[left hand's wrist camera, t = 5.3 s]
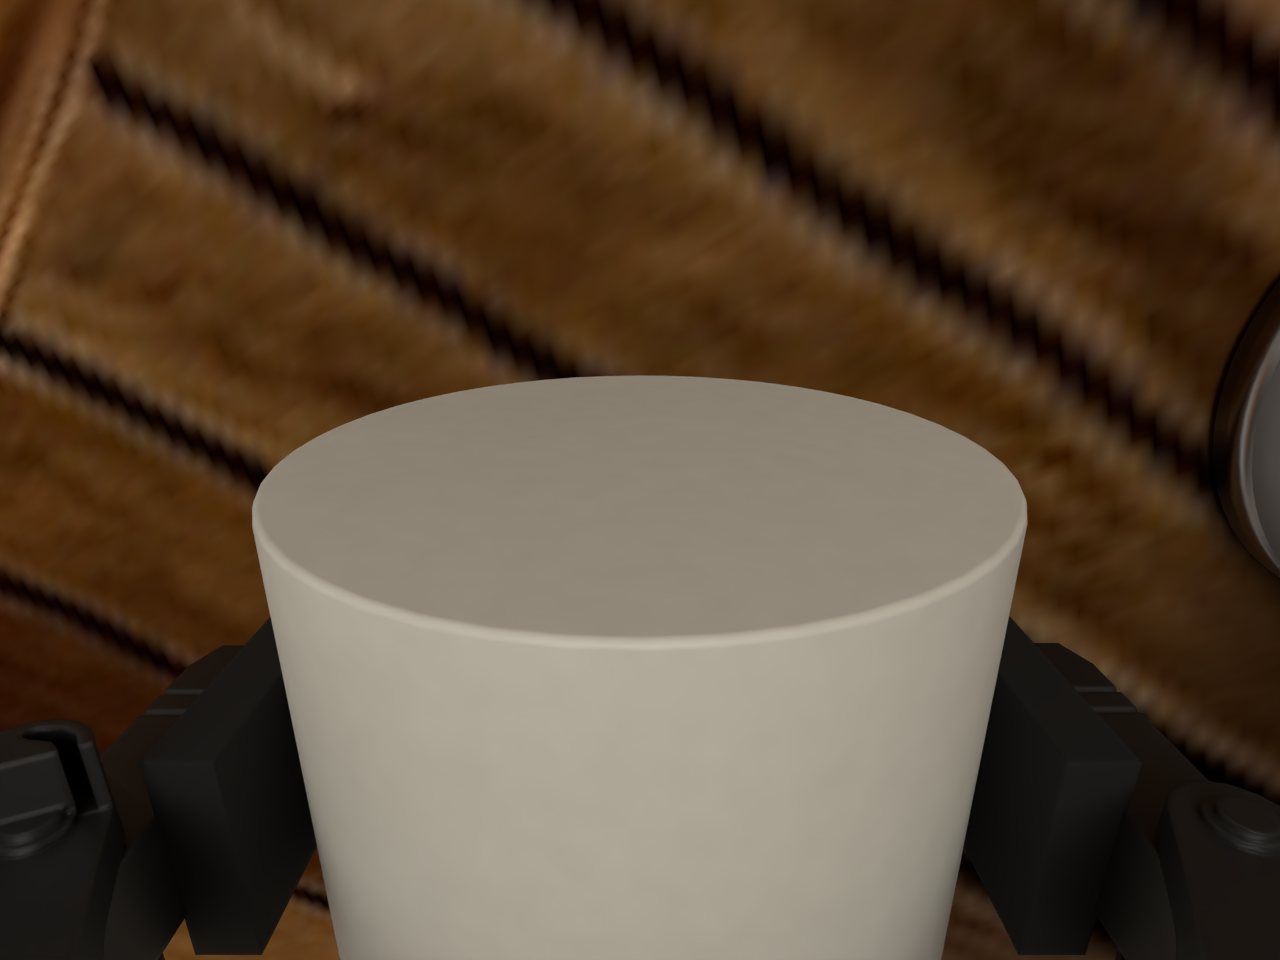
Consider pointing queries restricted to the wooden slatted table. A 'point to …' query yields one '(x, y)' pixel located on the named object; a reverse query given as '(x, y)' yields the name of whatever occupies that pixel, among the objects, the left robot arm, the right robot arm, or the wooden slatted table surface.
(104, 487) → the wooden slatted table surface
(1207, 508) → the wooden slatted table surface
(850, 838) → the rod
